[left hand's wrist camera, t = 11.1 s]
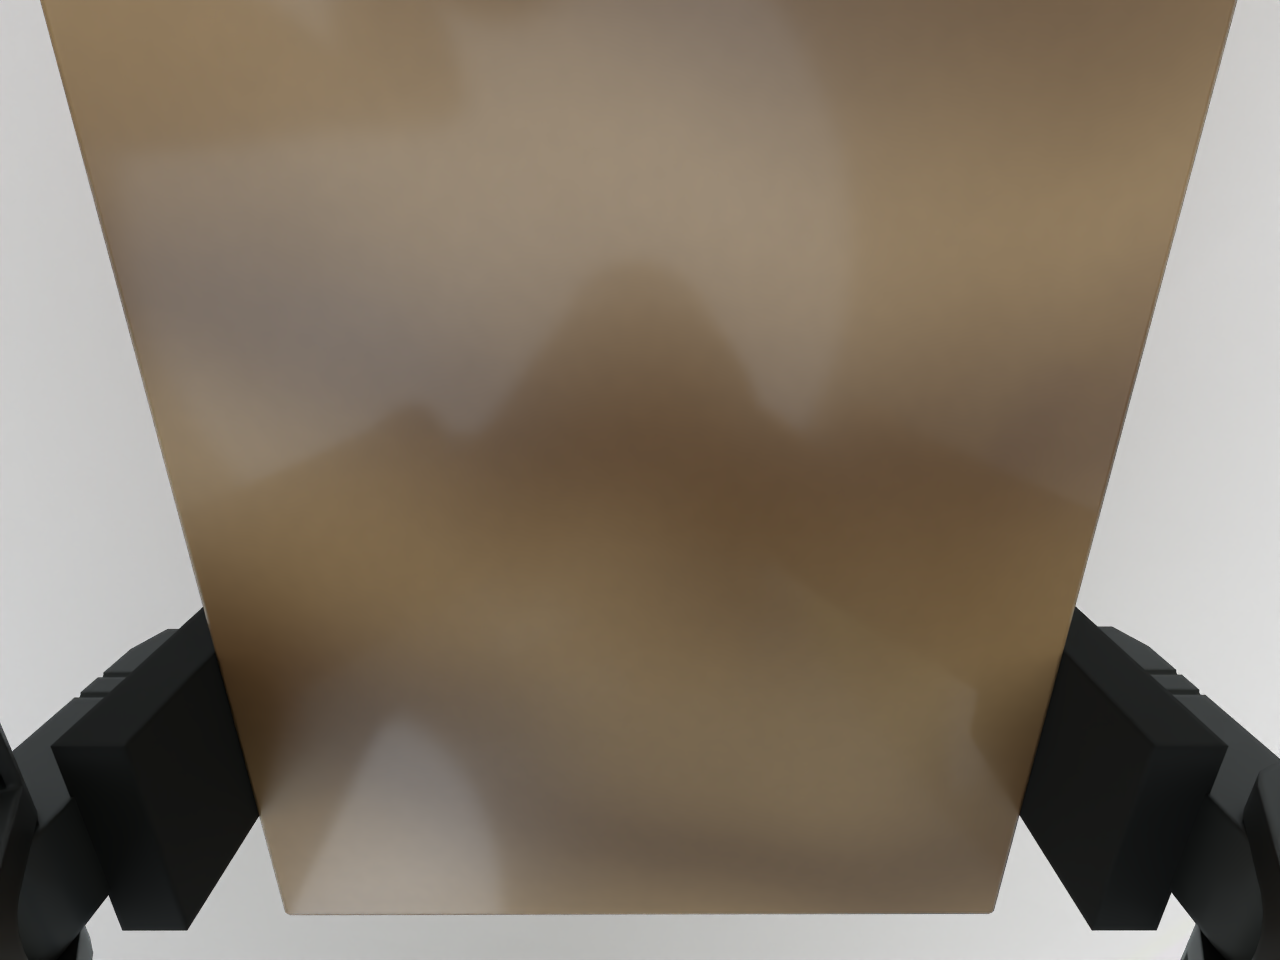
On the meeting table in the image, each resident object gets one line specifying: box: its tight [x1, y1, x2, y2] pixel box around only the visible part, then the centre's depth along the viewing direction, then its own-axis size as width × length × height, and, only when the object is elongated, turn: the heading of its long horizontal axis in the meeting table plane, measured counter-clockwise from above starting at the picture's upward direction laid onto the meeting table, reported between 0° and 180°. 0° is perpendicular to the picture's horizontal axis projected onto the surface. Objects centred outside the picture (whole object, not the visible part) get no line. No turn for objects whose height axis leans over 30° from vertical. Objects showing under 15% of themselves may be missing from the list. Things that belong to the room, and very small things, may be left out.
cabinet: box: [40, 0, 1237, 915], centre depth 11 cm, size 16×10×8 cm, turn 0°
